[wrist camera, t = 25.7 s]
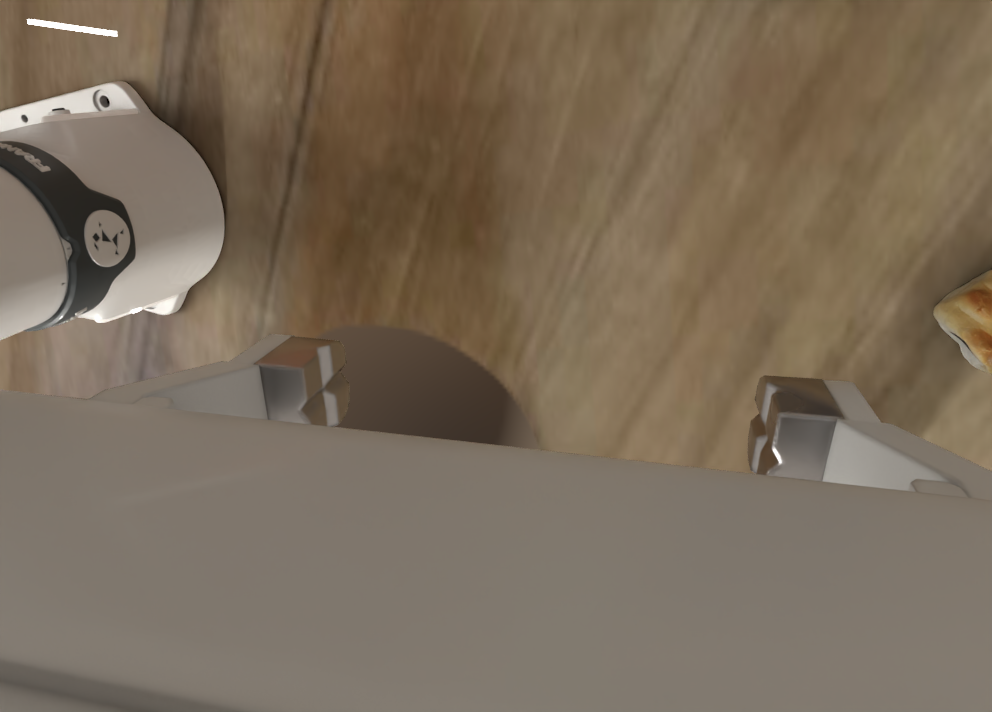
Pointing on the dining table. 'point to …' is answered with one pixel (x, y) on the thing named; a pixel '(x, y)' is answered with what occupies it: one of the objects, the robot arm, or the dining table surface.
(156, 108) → the dining table surface
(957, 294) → the pastry
